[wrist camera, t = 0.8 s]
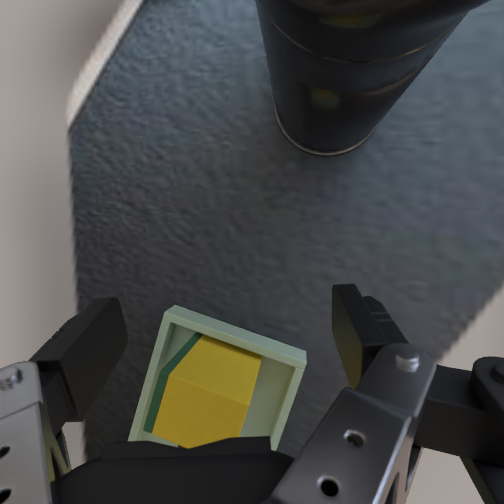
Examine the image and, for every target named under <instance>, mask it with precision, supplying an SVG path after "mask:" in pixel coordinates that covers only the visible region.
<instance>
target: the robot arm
mask: <svg viewBox="0 0 504 504" xmlns="http://www.w3.org/2000/svg"><path fill="white" fill-rule="evenodd" d="M255 1H256V6H257V11H258V16H259V21H260V26H261V31H262V36H263V42H264V47H265V52H266V58H267V63H268V68H269V74H270V79H271V85H272V90H273V95H274V103H275V106H274V108H275V113H276V117H277V121H278V124H279V127H280V128H281V130H282V132H283V134H284V135H285V137H286V138H287V139H288V140H289V141H290V142H291V143H292V144H293V145H294V146H296V147H297V148H298V149H300V150H302V151H304V152H306V153H309V154H312V155H316V156H336V155H340V154H344V153H346V152H349V151H351V150H353V149H355V148H356V147H358V146H359V145H361V144H362V143H363V142H364V141H365V140H366V139H367V138H368V137H369V136H370V135H371V134H372V133H373V131H374V130H375V129H376V127H377V126H378V124H379V122H380V121H381V120H382V119H383V118H384V116H385V115H386V114H387V113H388V111H389V110H390V109H391V108H392V106H393V105H394V104H395V103H396V101H397V100H398V99H399V98H400V97H401V95H402V94H403V93H404V92H405V90H406V89H407V88H408V87H409V85H410V84H411V83H412V82H413V81H414V79H415V78H416V77H417V76H418V74H419V73H420V72H421V71H422V69H423V68H424V67H425V66H426V64H427V63H428V62H429V61H430V60H431V58H432V57H433V56H434V55H435V53H436V52H437V51H438V49H439V48H440V47H441V45H442V44H443V43H444V42H445V41H446V39H447V38H448V37H449V36H450V34H451V33H452V32H453V31H454V29H455V28H456V27H457V26H458V24H459V23H460V22H461V21H462V19H463V18H464V17H465V16H466V15H467V13H468V12H469V11H470V10H472V9H474V8H476V7H479V6H481V5H483V4H485V3H486V2H488V1H490V0H255ZM269 88H270V87H269ZM270 92H271V91H270ZM271 96H272V95H271ZM272 100H273V99H272ZM274 103H273V104H274ZM332 331H333V337H334V340H335V343H336V346H337V349H338V352H339V355H340V357H341V360H342V363H343V366H344V369H345V372H346V375H347V378H348V381H349V383H350V386H351V388H349V387H345V388H344V389H343V390H342V391H341V392H340V394H339V395H338V397H337V398H336V400H335V401H334V402H333V404H332V405H331V407H330V408H329V410H328V411H327V413H326V414H325V416H324V417H323V419H322V420H321V422H320V423H319V425H318V426H317V428H316V429H315V431H314V432H313V433H312V435H311V436H310V438H309V439H308V441H307V442H306V444H305V445H304V447H303V448H302V450H301V451H300V453H299V454H298V456H297V457H296V459H295V458H293V457H291V456H289V455H287V454H284V453H281V452H278V451H274V450H271V440H270V436H255V437H230V438H226V439H222V440H219V441H215V442H211V443H207V444H204V445H200V446H196V447H193V448H188V449H184V448H179V447H174V446H170V445H165V444H161V443H157V442H152V441H121V442H109V443H108V445H107V447H106V449H105V451H104V453H103V455H102V457H100V458H97V459H94V460H91V461H89V462H86V463H84V464H82V465H80V466H78V467H76V468H74V469H73V470H72V469H71V465H70V460H69V455H68V451H67V446H66V441H65V436H64V434H63V431H62V427H63V425H64V424H65V422H82V421H83V420H84V418H85V416H86V415H87V413H88V411H89V410H90V408H91V406H92V405H93V403H94V401H95V400H96V398H97V396H98V395H99V393H100V391H101V390H102V388H103V386H104V385H105V383H106V381H107V380H108V378H109V376H110V375H111V373H112V371H113V370H114V368H115V366H116V365H117V363H118V361H119V360H120V358H121V356H122V355H123V353H124V351H125V349H126V347H127V343H128V333H127V328H126V325H125V321H124V317H123V313H122V309H121V305H120V302H119V300H118V299H117V298H116V297H113V298H96V299H94V300H93V301H92V302H91V303H90V304H89V305H88V306H87V307H86V308H85V309H84V310H83V311H82V312H80V313H79V314H77V315H76V316H74V317H73V318H71V319H69V320H68V321H67V322H66V323H65V324H64V325H63V326H62V327H61V328H60V329H59V331H57V332H56V333H55V334H54V335H53V336H52V339H49V340H48V341H47V342H46V343H45V344H44V345H43V346H42V347H41V348H40V349H39V350H38V351H37V352H36V353H35V354H34V355H33V357H32V358H30V359H29V361H23V362H17V363H14V364H11V365H8V366H6V367H3V368H1V369H0V504H405V503H406V499H407V497H408V494H409V491H410V488H411V485H412V481H413V478H414V475H415V472H416V469H417V466H418V463H419V460H420V457H421V454H422V451H423V448H428V449H432V450H436V451H440V452H444V453H448V454H452V455H456V456H460V458H461V460H462V462H463V464H464V466H465V468H466V469H467V472H468V473H469V475H470V477H471V479H472V481H473V483H474V485H475V487H476V488H477V490H478V492H479V494H480V496H481V498H482V499H483V502H484V503H485V504H504V358H500V357H483V358H479V359H478V360H476V361H475V362H474V364H473V368H472V371H468V370H461V369H456V368H450V367H445V366H441V365H437V364H436V362H435V360H434V358H433V357H432V356H431V355H430V354H429V353H428V352H427V351H425V350H424V349H422V348H420V347H417V346H415V345H411V344H409V343H408V341H407V340H406V338H405V337H404V335H403V334H402V332H401V331H400V329H399V328H398V327H397V325H396V324H395V322H394V321H393V320H392V318H391V316H390V315H389V314H388V312H387V310H386V309H385V308H384V306H383V305H382V303H380V302H379V301H377V300H376V299H374V298H373V297H371V296H366V297H362V295H361V294H360V292H359V290H358V289H357V287H356V285H355V284H341V285H333V288H332Z"/></svg>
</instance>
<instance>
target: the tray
mask: <svg viewBox="0 0 504 504" xmlns="http://www.w3.org/2000/svg"><path fill="white" fill-rule="evenodd" d="M196 332H199V333H202V334H205V335H208V336H210V337H213V338H216V339H219V340H222V341H224V342H227V343H230V344H233V345H235V346H238V347H241V348H244V349H246V350H249V351H252V352H255V353H257V354H260V355H263V356H262V360H261V364H260V368H259V371H258V375H257V379H256V383H255V386H254V390H253V394H252V398H251V401H250V405H249V408H248V411H247V414H246V417H245V420H244V423H243V426H242V429H241V432H240V435H239V437H255V436H270V440H271V450H274V451H276V449H277V446H278V443H279V440H280V438H281V435H282V432H283V429H284V426H285V423H286V421H287V418H288V415H289V412H290V409H291V406H292V403H293V401H294V398H295V395H296V392H297V389H298V386H299V384H300V381H301V378H302V375H303V372H304V369H305V366H306V364H307V361H306V351H304V350H301V349H298V348H295V347H293V346H290V345H287V344H284V343H281V342H278V341H276V340H273V339H270V338H267V337H264V336H262V335H259V334H256V333H253V332H250V331H248V330H245V329H242V328H239V327H236V326H233V325H231V324H228V323H225V322H222V321H219V320H217V319H214V318H211V317H208V316H205V315H203V314H200V313H197V312H194V311H191V310H188V309H186V308H183V307H180V306H177V305H174V306H173V307H171V308H170V309H168V310H167V311H165V312H164V316H163V320H162V323H161V326H160V330H159V333H158V337H157V340H156V344H155V347H154V351H153V354H152V358H151V361H150V365H149V368H148V372H147V375H146V379H145V382H144V386H143V389H142V393H141V396H140V400H139V403H138V407H137V410H136V414H135V417H134V421H133V424H132V428H131V431H130V435H129V438H128V441H152V442H157V443H161V444H165V445H170V446H174V447H178V444H175V443H173V442H170V441H168V440H165V439H163V438H160V437H158V436H156V435H153V434H152V433H148V432H146V431H143V428H144V424H145V421H146V417H147V414H148V410H149V407H150V404H151V400H152V397H153V393H154V390H155V386H156V383H157V379H158V376H159V373H160V371H161V370H162V368H163V367H164V366H165V365H166V364H167V363H168V362H169V361H170V360H171V359H172V358H173V357H174V356H175V355H176V353H177V352H178V351H179V350H180V349H181V348H182V347H183V346H184V345H185V344H186V343H187V342H188V341H189V339H190V338H191V337H192V336H193V335H194V334H195V333H196Z"/></svg>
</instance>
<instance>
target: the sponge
mask: <svg viewBox="0 0 504 504" xmlns="http://www.w3.org/2000/svg"><path fill="white" fill-rule="evenodd" d="M262 356H263V355H260V354H257V353H255V352H252V351H249V350H246V349H244V348H241V347H238V346H235V345H233V344H230V343H227V342H224V341H222V340H219V339H216V338H213V337H210V336H208V335H205V334H202V333H199V332H196V333H195V334H194V335H193V336H192V337H191V338H190V339H189V341H188V342H187V343H186V344H185V345H184V346H183V347H182V348H181V349H180V350H179V351H178V352H177V353H176V355H175V356H174V357H173V358H172V359H171V360H170V361H169V362H168V363H167V364H166V365H165V366H164V367H163V368H162V370H161V371H160V373H159V376H158V379H157V383H156V386H155V390H154V393H153V397H152V400H151V404H150V407H149V410H148V414H147V417H146V421H145V424H144V428H143V431H146V432H148V433H152V434H153V435H156V436H158V437H160V438H163V439H165V440H168V441H170V442H173V443H175V444H178V445H180V446H183V447H185V448H193V447H196V446H200V445H204V444H207V443H211V442H215V441H219V440H222V439H226V438H230V437H239V435H240V432H241V429H242V426H243V423H244V420H245V417H246V414H247V411H248V408H249V405H250V401H251V398H252V394H253V390H254V386H255V383H256V379H257V375H258V371H259V368H260V364H261V360H262Z"/></svg>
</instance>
